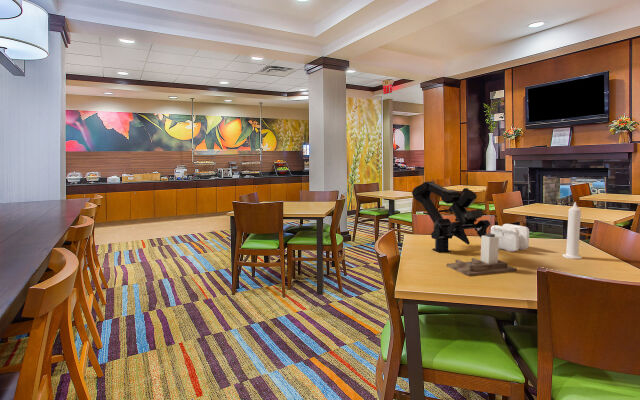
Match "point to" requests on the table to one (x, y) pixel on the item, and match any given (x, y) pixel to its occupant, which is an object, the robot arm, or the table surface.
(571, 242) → the candle
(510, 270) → the comb rack
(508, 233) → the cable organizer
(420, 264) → the table surface
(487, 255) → the white tall block
